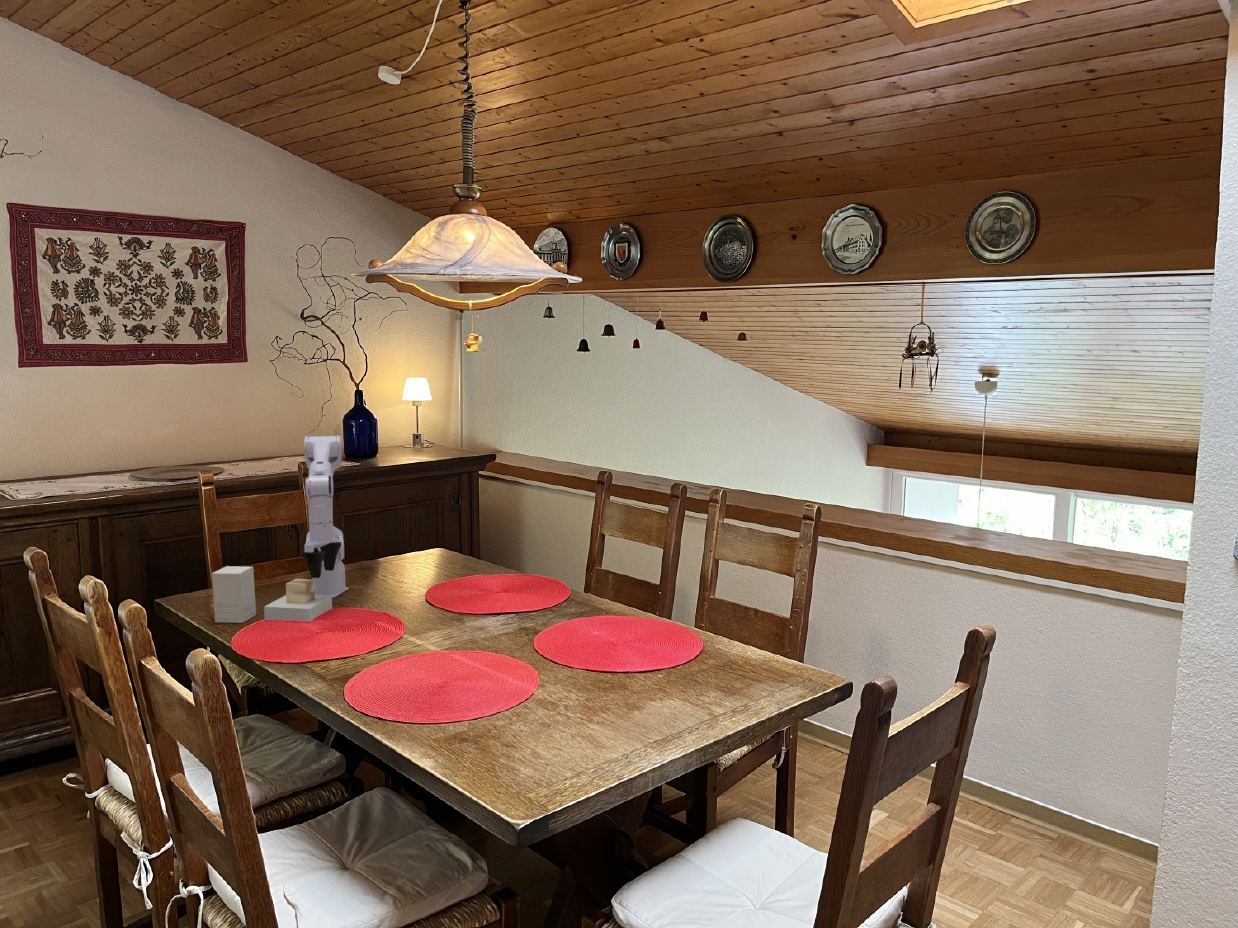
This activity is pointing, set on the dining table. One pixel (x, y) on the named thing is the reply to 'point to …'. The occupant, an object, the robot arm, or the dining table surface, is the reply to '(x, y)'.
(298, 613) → the grey block
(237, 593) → the supplement box
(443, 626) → the dining table surface
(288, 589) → the birch cube
